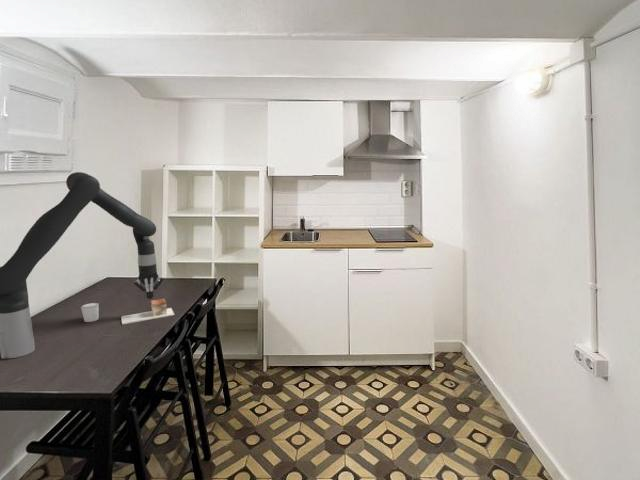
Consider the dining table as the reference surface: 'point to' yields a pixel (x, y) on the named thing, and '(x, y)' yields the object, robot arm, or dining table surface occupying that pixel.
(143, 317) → the mat
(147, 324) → the dining table surface
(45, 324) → the dining table surface
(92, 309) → the white cup
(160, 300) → the maple cube
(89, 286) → the dining table surface
